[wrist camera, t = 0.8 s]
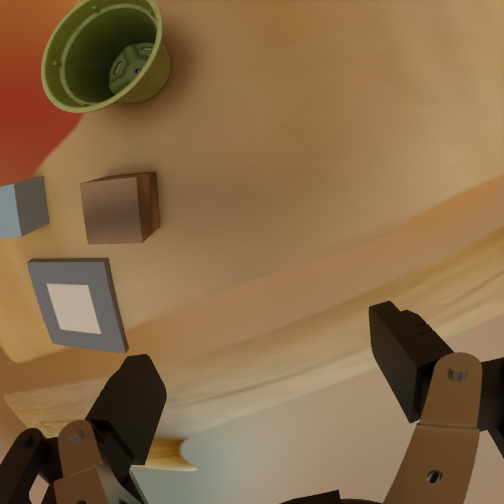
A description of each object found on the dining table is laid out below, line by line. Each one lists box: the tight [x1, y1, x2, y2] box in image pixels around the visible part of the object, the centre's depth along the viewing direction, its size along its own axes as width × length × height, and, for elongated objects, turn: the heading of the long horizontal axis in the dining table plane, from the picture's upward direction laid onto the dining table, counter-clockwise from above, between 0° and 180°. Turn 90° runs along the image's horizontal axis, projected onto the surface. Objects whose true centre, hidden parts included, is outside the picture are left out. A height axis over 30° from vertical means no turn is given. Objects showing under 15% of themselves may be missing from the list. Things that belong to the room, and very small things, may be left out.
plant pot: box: [41, 0, 171, 113], centre depth 17 cm, size 9×9×9 cm
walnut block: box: [80, 172, 160, 245], centre depth 23 cm, size 5×5×5 cm
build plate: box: [27, 258, 129, 353], centre depth 29 cm, size 11×11×1 cm
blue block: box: [0, 177, 49, 238], centre depth 23 cm, size 5×5×5 cm
